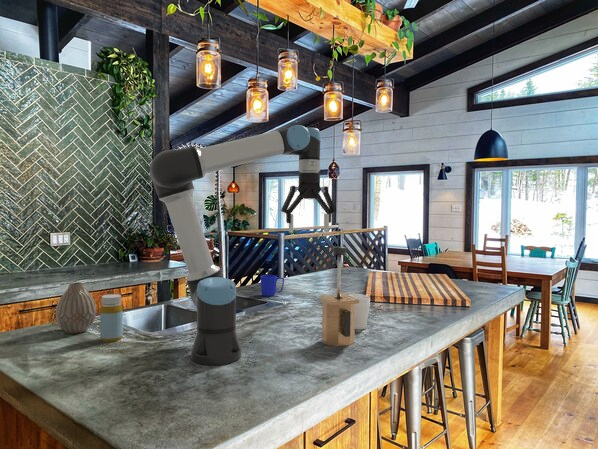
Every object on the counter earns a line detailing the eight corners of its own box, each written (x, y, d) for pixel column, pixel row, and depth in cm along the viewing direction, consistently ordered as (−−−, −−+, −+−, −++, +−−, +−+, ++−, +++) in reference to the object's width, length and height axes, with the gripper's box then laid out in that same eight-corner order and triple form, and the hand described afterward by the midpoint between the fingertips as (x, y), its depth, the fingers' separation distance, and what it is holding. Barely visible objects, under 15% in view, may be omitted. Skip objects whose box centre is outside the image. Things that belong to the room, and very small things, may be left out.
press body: (332, 349, 144) (333, 303, 143) (318, 338, 156) (319, 295, 155) (361, 347, 147) (362, 302, 146) (345, 335, 159) (346, 294, 159)
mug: (283, 297, 223) (283, 277, 222) (259, 297, 223) (259, 277, 222) (284, 294, 231) (284, 275, 230) (261, 293, 231) (261, 274, 231)
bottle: (117, 335, 157) (117, 293, 156) (126, 339, 152) (125, 296, 151) (97, 339, 152) (96, 295, 151) (105, 343, 147) (104, 299, 146)
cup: (368, 331, 165) (369, 299, 164) (344, 329, 167) (345, 298, 166) (369, 324, 174) (370, 294, 173) (346, 323, 176) (347, 293, 175)
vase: (50, 330, 161) (49, 283, 160) (87, 324, 170) (87, 278, 169) (63, 338, 152) (63, 288, 151) (102, 331, 161) (102, 283, 161)
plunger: (332, 309, 147) (333, 248, 146) (324, 304, 155) (325, 246, 154) (353, 308, 150) (354, 248, 149) (344, 303, 157) (345, 246, 156)
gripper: (279, 170, 150) (278, 233, 151) (345, 172, 158) (345, 232, 159) (272, 172, 157) (272, 232, 158) (336, 174, 165) (336, 230, 166)
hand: (308, 232), depth 159 cm, fingers open, 13 cm apart
